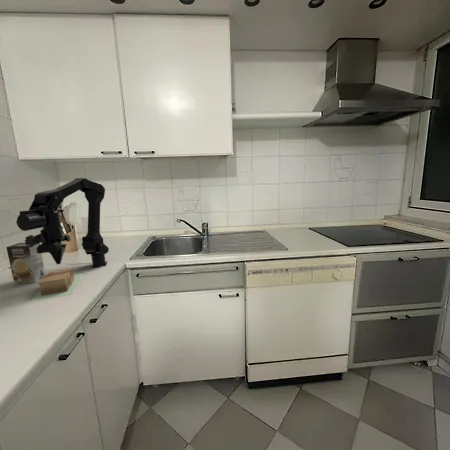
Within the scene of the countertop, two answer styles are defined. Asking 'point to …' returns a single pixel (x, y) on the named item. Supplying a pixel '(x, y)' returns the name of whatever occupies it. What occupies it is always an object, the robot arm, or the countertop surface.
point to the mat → (69, 292)
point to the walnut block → (56, 282)
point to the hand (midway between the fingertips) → (58, 264)
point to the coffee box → (25, 263)
